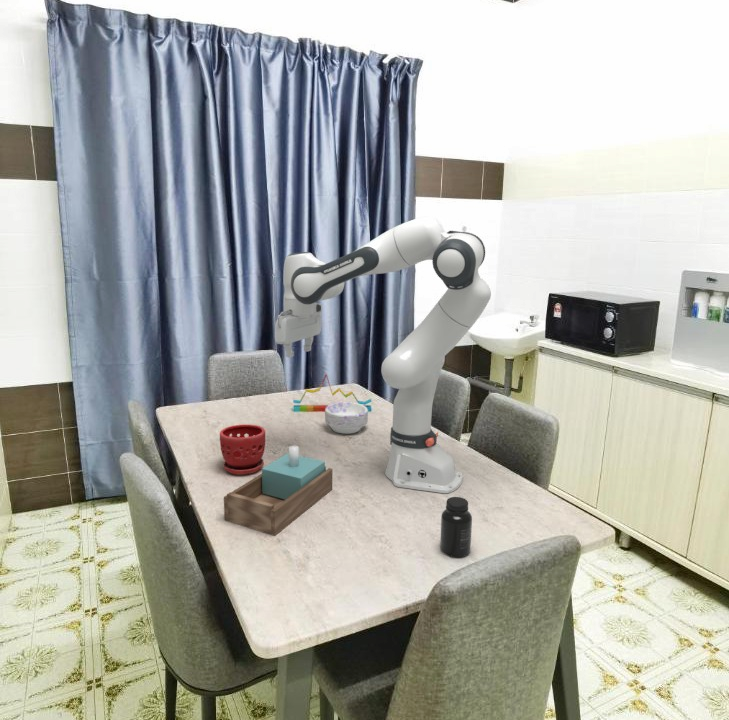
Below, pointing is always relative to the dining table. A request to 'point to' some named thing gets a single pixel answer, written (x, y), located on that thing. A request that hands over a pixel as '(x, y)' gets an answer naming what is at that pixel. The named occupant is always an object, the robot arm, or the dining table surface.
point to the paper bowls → (346, 417)
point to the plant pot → (242, 448)
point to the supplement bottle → (456, 528)
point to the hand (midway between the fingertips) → (298, 354)
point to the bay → (273, 504)
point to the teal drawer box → (290, 474)
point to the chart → (322, 407)
